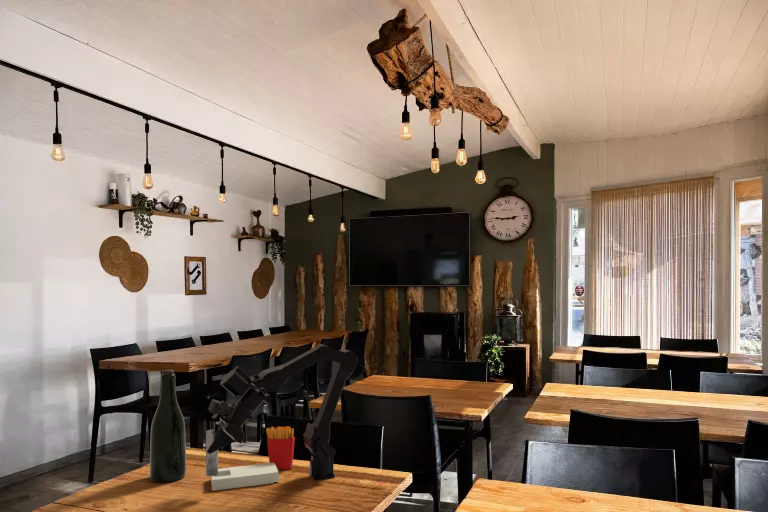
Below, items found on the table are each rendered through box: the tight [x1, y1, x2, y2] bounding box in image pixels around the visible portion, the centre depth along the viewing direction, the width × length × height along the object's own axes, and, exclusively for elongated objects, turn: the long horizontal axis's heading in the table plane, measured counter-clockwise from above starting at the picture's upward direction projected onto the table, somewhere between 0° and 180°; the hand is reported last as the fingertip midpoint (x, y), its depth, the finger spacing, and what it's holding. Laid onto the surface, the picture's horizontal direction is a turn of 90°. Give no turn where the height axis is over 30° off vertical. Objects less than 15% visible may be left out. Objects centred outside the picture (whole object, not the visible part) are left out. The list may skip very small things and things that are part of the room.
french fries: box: [265, 425, 296, 470], centre depth 184 cm, size 9×4×13 cm, turn 85°
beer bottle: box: [149, 369, 187, 483], centre depth 177 cm, size 10×10×33 cm
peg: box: [205, 429, 219, 477], centre depth 161 cm, size 3×3×12 cm
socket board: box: [210, 462, 280, 491], centre depth 172 cm, size 19×10×3 cm, turn 108°
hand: (206, 451), depth 160 cm, fingers closed on peg, 3 cm apart
